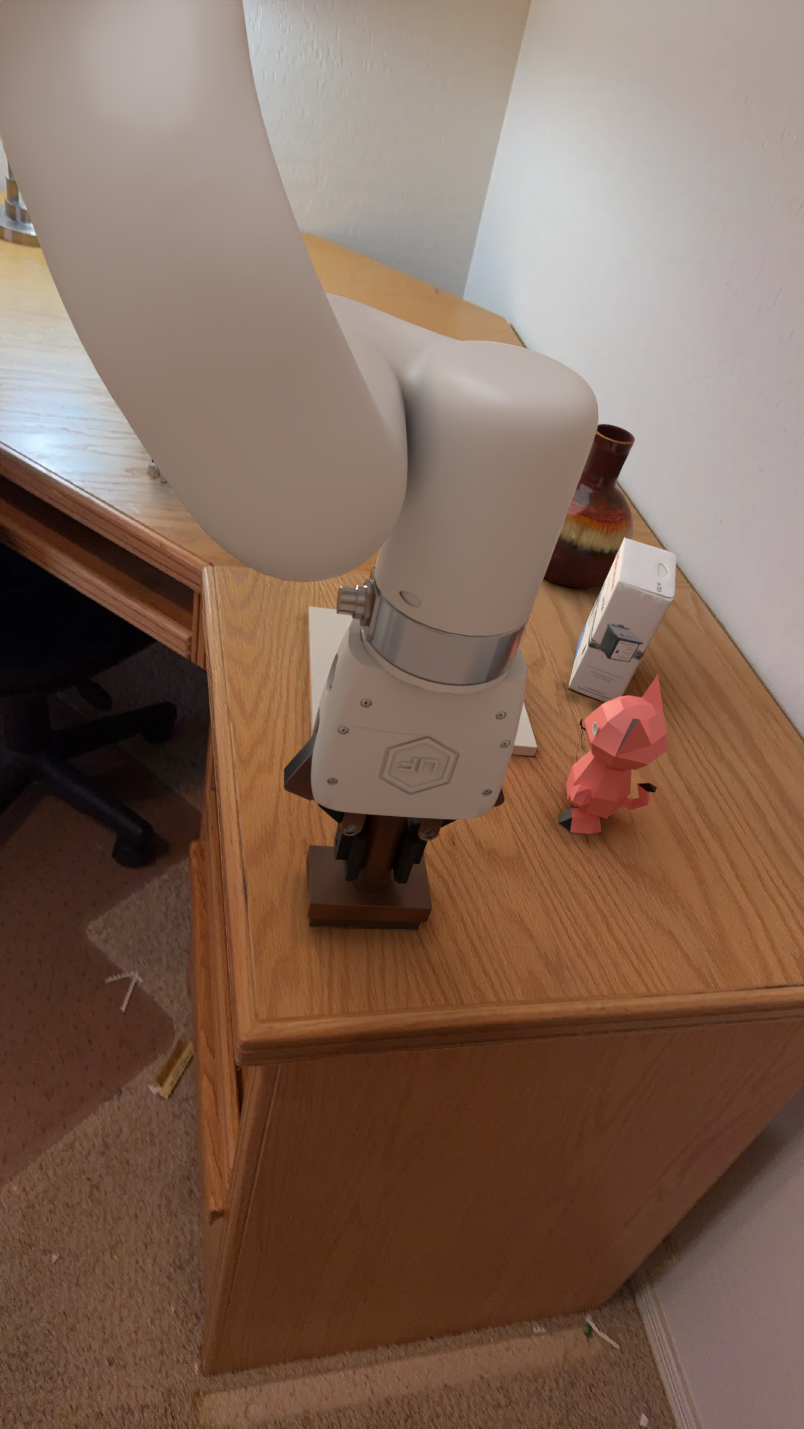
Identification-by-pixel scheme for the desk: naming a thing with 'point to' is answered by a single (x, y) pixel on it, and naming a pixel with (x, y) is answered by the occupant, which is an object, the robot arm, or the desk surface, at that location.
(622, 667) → the ink box
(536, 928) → the desk surface
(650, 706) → the cat figurine
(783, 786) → the desk surface
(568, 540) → the vase
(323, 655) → the tile
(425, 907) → the stamp
